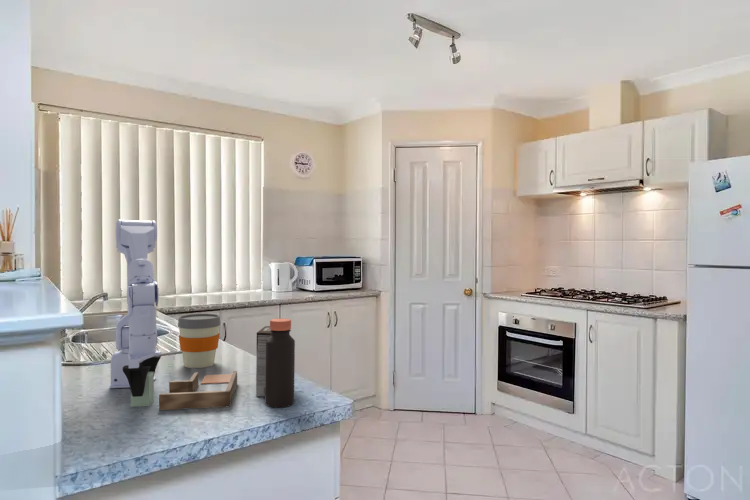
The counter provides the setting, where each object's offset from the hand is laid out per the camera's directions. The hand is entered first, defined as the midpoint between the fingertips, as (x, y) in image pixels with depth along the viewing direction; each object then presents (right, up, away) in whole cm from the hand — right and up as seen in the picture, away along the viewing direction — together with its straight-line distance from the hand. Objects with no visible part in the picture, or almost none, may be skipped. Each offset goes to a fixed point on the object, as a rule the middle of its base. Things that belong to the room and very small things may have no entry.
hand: (142, 391), depth 115 cm
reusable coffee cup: (0, -3, +37) cm, 37 cm away
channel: (+12, -3, +6) cm, 14 cm away
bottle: (+32, -4, +1) cm, 33 cm away
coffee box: (+29, -3, +11) cm, 31 cm away
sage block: (0, -3, 0) cm, 3 cm away
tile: (+11, -3, +21) cm, 24 cm away
